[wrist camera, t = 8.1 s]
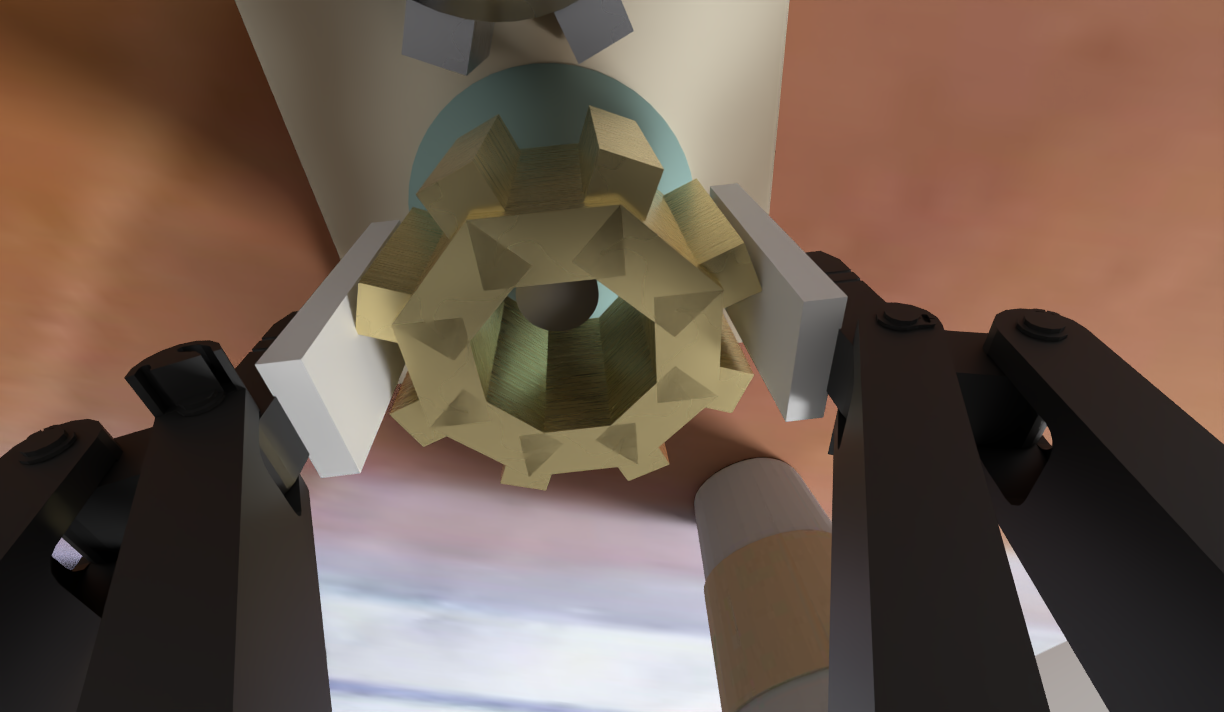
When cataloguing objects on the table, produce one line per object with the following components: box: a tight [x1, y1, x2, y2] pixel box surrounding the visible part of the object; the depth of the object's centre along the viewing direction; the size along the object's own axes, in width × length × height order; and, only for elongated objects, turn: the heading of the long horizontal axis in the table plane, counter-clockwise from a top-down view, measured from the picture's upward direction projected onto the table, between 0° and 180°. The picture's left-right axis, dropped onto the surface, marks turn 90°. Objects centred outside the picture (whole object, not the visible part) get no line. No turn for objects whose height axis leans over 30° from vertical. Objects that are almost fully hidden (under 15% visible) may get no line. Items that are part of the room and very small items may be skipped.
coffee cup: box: [694, 458, 832, 712], centre depth 21 cm, size 9×9×15 cm
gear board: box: [235, 0, 789, 384], centre depth 13 cm, size 14×20×7 cm
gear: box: [355, 105, 762, 490], centre depth 13 cm, size 8×8×5 cm
